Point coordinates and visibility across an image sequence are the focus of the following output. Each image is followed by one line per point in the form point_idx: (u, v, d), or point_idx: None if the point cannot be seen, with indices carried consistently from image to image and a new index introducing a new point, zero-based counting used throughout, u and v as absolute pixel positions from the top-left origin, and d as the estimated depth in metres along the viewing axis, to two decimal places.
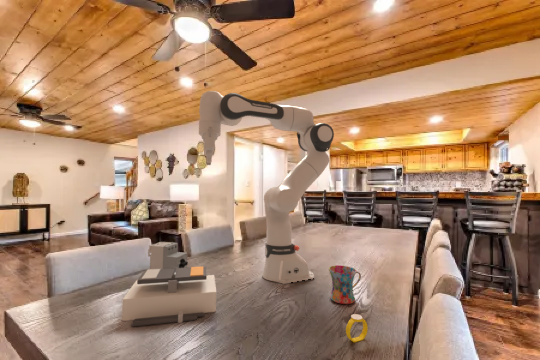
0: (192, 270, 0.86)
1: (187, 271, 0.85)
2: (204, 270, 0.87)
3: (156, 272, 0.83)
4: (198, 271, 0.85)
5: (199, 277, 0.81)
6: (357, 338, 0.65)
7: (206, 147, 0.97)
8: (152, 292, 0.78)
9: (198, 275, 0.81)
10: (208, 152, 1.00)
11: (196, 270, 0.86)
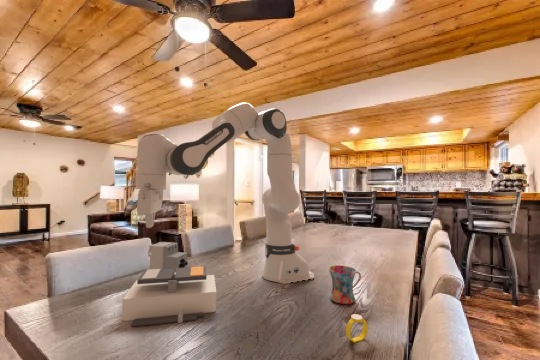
0: (192, 270, 0.86)
1: (187, 271, 0.85)
2: (204, 270, 0.87)
3: (156, 272, 0.83)
4: (198, 271, 0.85)
5: (199, 277, 0.81)
6: (357, 338, 0.65)
7: (138, 213, 0.73)
8: (152, 292, 0.78)
9: (198, 275, 0.81)
10: (147, 215, 0.80)
11: (196, 270, 0.86)
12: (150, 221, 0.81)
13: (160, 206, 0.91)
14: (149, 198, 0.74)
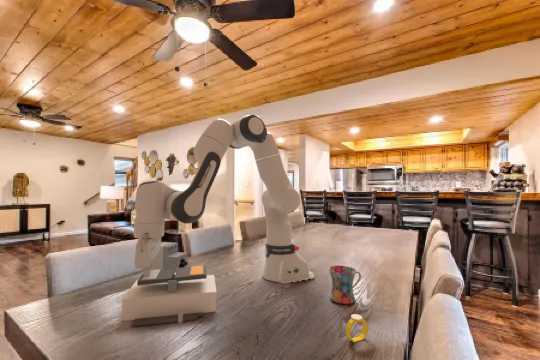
0: (192, 269, 0.86)
1: (187, 271, 0.85)
2: (204, 269, 0.87)
3: (156, 273, 0.83)
4: (198, 270, 0.85)
5: (199, 276, 0.81)
6: (357, 338, 0.65)
7: (136, 266, 0.72)
8: (152, 292, 0.78)
9: (198, 274, 0.81)
10: None
11: (196, 269, 0.86)
12: (148, 269, 0.80)
13: (158, 249, 0.90)
14: (147, 251, 0.73)
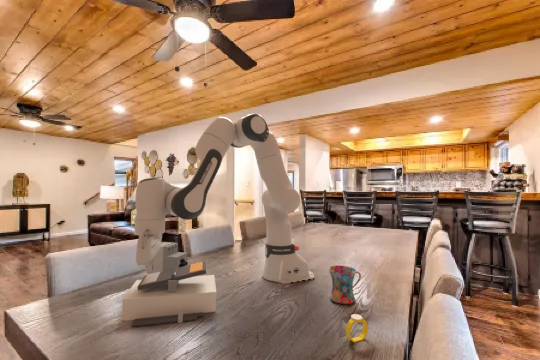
0: (191, 267, 0.86)
1: (186, 269, 0.85)
2: (203, 265, 0.87)
3: (156, 275, 0.83)
4: (197, 267, 0.85)
5: (199, 272, 0.81)
6: (357, 338, 0.65)
7: (138, 263, 0.72)
8: (152, 292, 0.78)
9: (197, 271, 0.81)
10: None
11: (195, 266, 0.86)
12: (149, 266, 0.80)
13: (159, 246, 0.90)
14: (148, 247, 0.73)
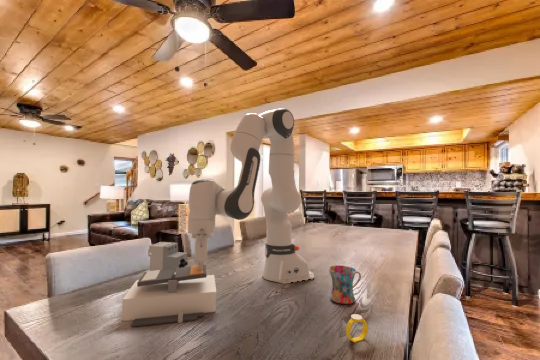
0: (192, 269, 0.86)
1: (187, 270, 0.85)
2: (204, 268, 0.87)
3: (156, 273, 0.83)
4: None
5: (199, 275, 0.81)
6: (357, 338, 0.65)
7: (196, 261, 0.76)
8: (152, 292, 0.78)
9: (198, 273, 0.81)
10: None
11: (196, 269, 0.86)
12: (202, 264, 0.84)
13: None
14: (206, 246, 0.77)
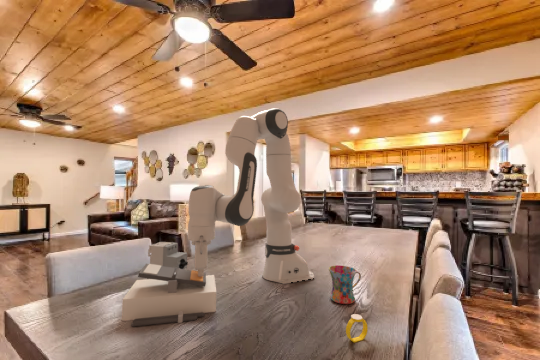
0: (192, 273, 0.86)
1: (187, 274, 0.85)
2: (204, 276, 0.86)
3: (157, 268, 0.83)
4: None
5: (199, 282, 0.81)
6: (357, 338, 0.65)
7: (196, 268, 0.76)
8: (152, 292, 0.78)
9: (198, 280, 0.81)
10: None
11: (196, 274, 0.86)
12: (202, 270, 0.84)
13: None
14: (206, 253, 0.77)
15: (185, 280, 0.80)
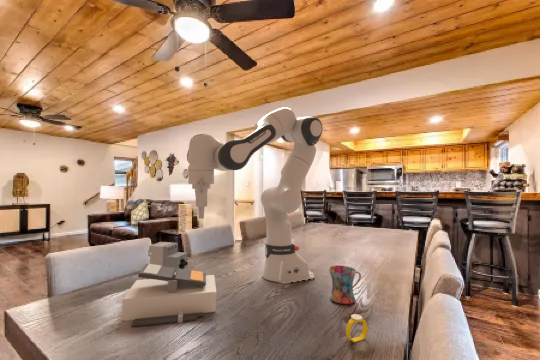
0: (192, 273, 0.86)
1: (187, 274, 0.85)
2: (204, 276, 0.86)
3: (157, 268, 0.83)
4: (198, 276, 0.85)
5: (199, 282, 0.81)
6: (357, 338, 0.65)
7: (197, 205, 0.82)
8: (152, 292, 0.78)
9: (198, 280, 0.81)
10: (200, 207, 0.89)
11: (196, 274, 0.86)
12: (202, 213, 0.90)
13: None
14: (206, 191, 0.83)
15: (185, 280, 0.80)
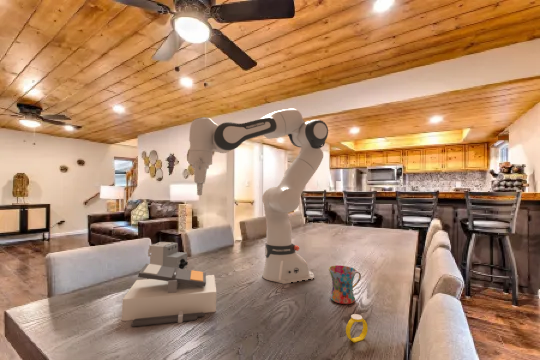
0: (192, 273, 0.86)
1: (187, 274, 0.85)
2: (204, 276, 0.86)
3: (157, 268, 0.83)
4: (198, 276, 0.85)
5: (199, 282, 0.81)
6: (357, 338, 0.65)
7: (196, 180, 0.89)
8: (152, 292, 0.78)
9: (198, 280, 0.81)
10: (198, 185, 0.97)
11: (196, 274, 0.86)
12: (200, 190, 0.98)
13: None
14: (204, 169, 0.90)
15: (185, 280, 0.80)
